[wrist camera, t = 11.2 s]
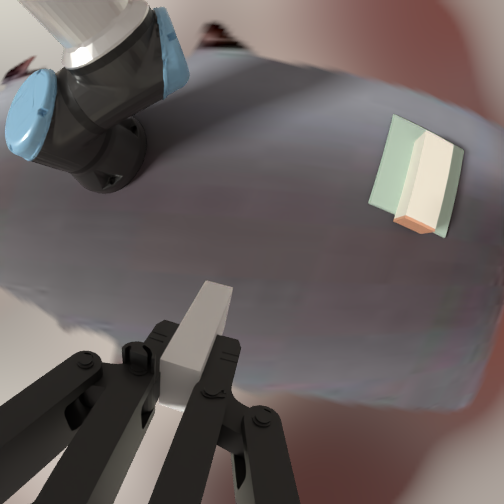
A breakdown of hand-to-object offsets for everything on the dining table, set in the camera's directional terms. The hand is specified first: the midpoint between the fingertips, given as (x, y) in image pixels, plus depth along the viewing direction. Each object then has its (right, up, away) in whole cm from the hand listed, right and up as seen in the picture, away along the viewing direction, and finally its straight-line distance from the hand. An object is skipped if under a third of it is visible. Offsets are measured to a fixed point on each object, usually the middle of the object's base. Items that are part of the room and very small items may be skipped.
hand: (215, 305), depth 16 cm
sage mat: (+29, +15, +25) cm, 41 cm away
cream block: (+25, +7, +22) cm, 34 cm away
